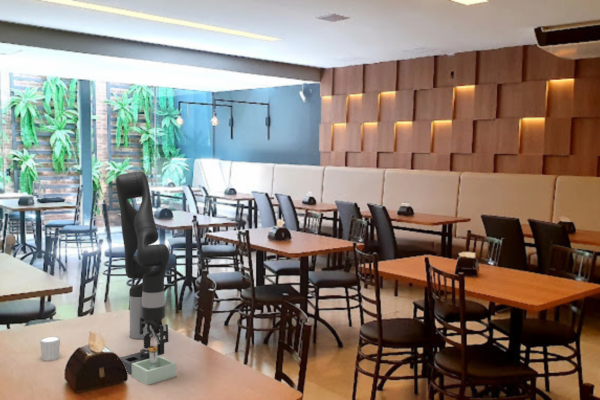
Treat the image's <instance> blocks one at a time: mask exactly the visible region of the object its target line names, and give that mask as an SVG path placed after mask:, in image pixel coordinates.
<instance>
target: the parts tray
mask: <svg viewBox="0 0 600 400" xmlns="http://www.w3.org/2000/svg"><path fill="white" fill-rule="evenodd" d="M175 377H177V362H175V361H172V360H170V359H168V358H166V357H164V356H162V355H160V356H157V368H154V369H150V359H146V360H142V361H139V362H135V363H132V375H131V378H134V379H135V380H137V381H138V382H141V383H143V385H146V386H149V385H151V384H155V383H159V382H162V381H165V380H168V379H172V378H175Z"/></svg>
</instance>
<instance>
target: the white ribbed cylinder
mask: <svg viewBox="0 0 600 400" xmlns="http://www.w3.org/2000/svg"><path fill="white" fill-rule="evenodd" d="M39 344H40V352H41V360H43V361H46V362H47V361H49V362H50V361H54V360H55V361H56V360H57V359H60V358H59V357H60V346H61V337H59V336H48V337H46V336H45V337H44V338H43V337H42V338H41V339H39Z"/></svg>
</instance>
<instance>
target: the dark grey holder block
mask: <svg viewBox="0 0 600 400" xmlns="http://www.w3.org/2000/svg"><path fill="white" fill-rule="evenodd" d="M157 356H161V355H158V354H157ZM118 358H120V359H121V360H122V362H123V363H124V365H125V367H126V370H127V372H128V373H127V374H128V375H130V376H132V363H135V362H139V361H142V360H146V359H150V352H149V351H148V348H147V349H145V348H142V349H140V350H139V352H135V353H131V354H128V355H124V356H123V355H122V356H120V357H118Z"/></svg>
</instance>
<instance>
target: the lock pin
mask: <svg viewBox="0 0 600 400" xmlns="http://www.w3.org/2000/svg"><path fill="white" fill-rule="evenodd" d="M148 351H149V352H150V369H154V368H157V345H151V346H150V347H148Z"/></svg>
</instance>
